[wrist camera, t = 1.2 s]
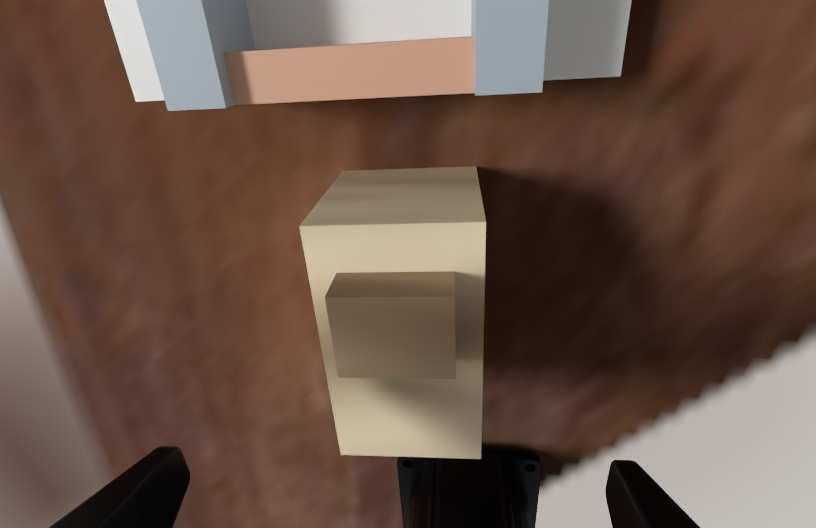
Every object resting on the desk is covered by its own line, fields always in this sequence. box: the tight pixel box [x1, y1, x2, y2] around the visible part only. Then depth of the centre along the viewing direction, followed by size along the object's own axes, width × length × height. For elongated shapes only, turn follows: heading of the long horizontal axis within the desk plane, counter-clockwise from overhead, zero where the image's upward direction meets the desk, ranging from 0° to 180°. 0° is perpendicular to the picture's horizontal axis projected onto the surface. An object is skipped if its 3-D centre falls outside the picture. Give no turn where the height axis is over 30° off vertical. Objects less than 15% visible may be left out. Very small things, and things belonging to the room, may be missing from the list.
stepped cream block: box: [299, 166, 486, 459], centre depth 14 cm, size 8×4×6 cm, turn 4°
